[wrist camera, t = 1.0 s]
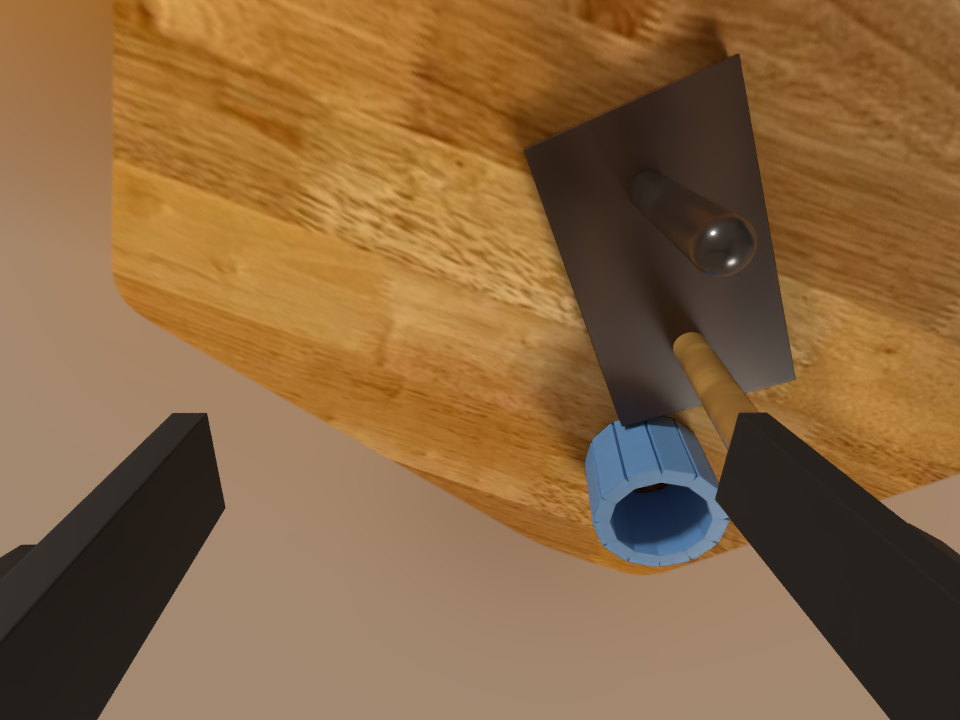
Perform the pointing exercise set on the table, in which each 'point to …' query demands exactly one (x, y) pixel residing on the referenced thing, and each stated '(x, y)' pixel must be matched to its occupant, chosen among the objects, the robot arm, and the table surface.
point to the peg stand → (670, 247)
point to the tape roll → (653, 493)
